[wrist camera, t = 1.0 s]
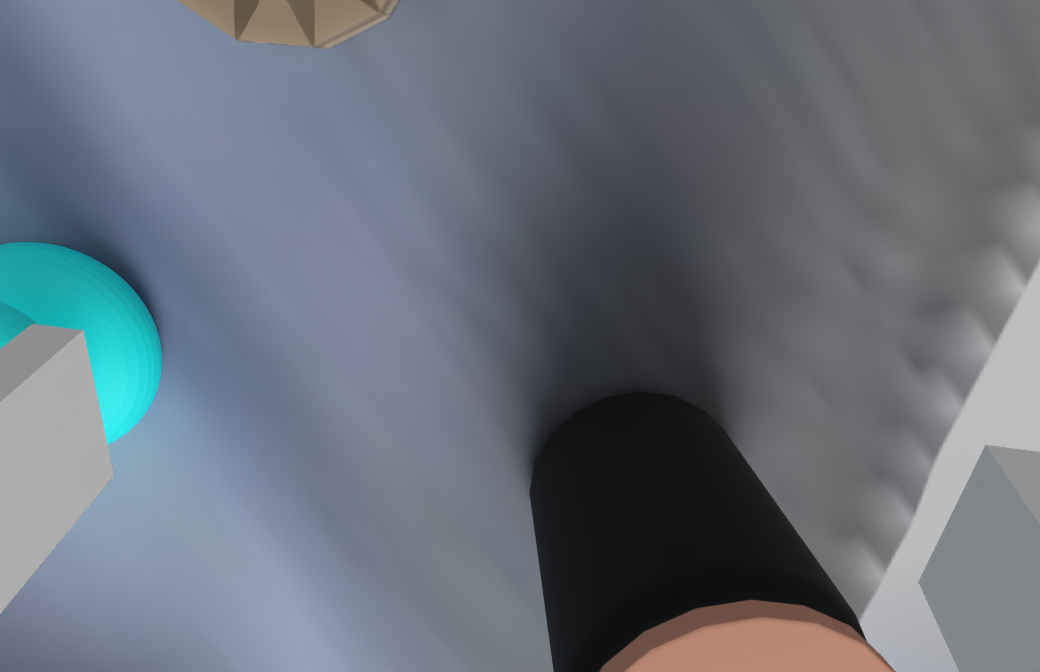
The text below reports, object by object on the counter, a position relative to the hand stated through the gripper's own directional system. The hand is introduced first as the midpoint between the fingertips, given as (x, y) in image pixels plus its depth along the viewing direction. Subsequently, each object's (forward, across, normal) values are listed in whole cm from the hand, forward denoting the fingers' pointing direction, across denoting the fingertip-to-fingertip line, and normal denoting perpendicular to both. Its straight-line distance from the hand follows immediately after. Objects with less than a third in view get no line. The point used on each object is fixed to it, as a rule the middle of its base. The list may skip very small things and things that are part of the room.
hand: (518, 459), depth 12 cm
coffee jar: (+23, -6, +19) cm, 30 cm away
